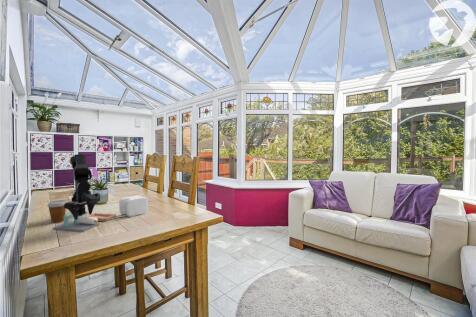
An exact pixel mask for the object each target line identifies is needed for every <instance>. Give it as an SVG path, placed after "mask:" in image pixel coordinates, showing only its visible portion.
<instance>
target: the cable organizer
mask: <svg viewBox="0 0 476 317" xmlns="http://www.w3.org/2000/svg"><path fill="white" fill-rule="evenodd" d="M118 203H119V204H118V205H119V206H118V207H119V214H121V215H125V214H126V216H128V217H131V218H132V217H136V216H138V215H139V216H140V215H145V214H146V213H148V211H149V199H148V197H147V196H142V195H140V194H139V195H138V194H137V195H132V196H128V197H127V196H126V197H122V198H120V199H119V202H118Z"/></svg>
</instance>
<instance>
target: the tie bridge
mask: <svg viewBox="0 0 476 317" xmlns="http://www.w3.org/2000/svg"><path fill="white" fill-rule="evenodd" d="M71 218H73V221H74V223H78V221H77V220H78V219H75V218H74V216H73V215H72V213H69V214H65V216H64V221H63V224H64V227H68V226H69V222H70V220H69V219H71Z"/></svg>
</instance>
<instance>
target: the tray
mask: <svg viewBox="0 0 476 317" xmlns="http://www.w3.org/2000/svg"><path fill="white" fill-rule="evenodd" d="M84 217H96V218H97V219H98V222H106V223H107V222H108V221H110V219H111V220H113V219H116V218H117V214H116V213H115V214H112V213H98V212H94V213H92V214H91V215H90V214H88V215H86V216H84Z"/></svg>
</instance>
